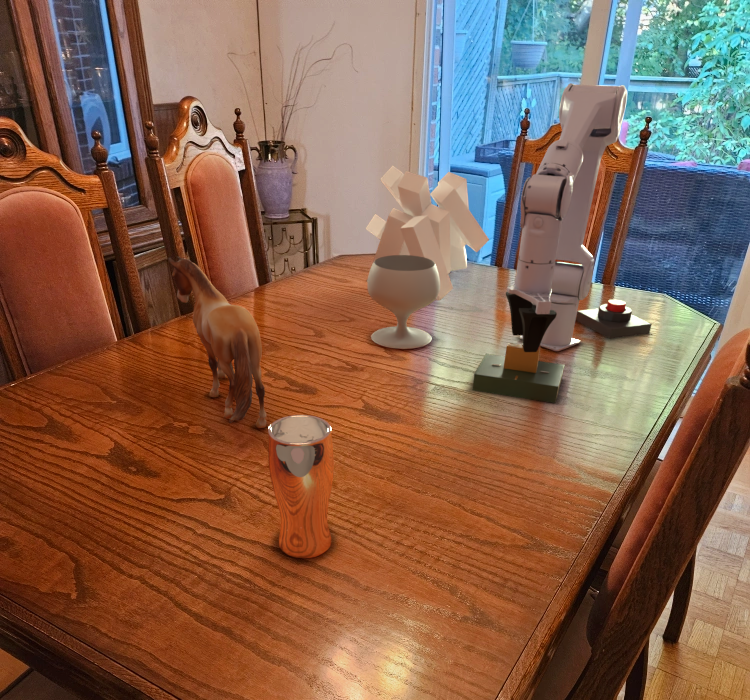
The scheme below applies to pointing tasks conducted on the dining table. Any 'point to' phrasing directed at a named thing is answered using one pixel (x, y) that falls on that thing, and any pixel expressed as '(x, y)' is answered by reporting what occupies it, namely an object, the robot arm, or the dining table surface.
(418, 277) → the chalice
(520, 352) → the upright orange tab
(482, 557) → the dining table surface
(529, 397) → the switch panel
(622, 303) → the red button
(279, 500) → the beer glass
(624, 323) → the switch block
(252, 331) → the horse figurine
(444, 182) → the pile of blocks
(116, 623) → the dining table surface
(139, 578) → the dining table surface
